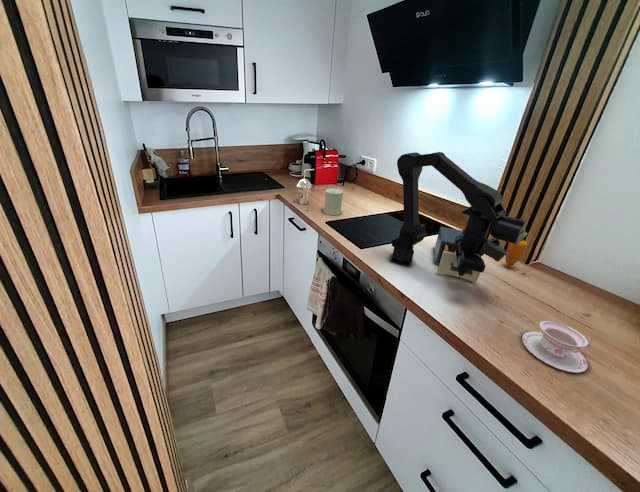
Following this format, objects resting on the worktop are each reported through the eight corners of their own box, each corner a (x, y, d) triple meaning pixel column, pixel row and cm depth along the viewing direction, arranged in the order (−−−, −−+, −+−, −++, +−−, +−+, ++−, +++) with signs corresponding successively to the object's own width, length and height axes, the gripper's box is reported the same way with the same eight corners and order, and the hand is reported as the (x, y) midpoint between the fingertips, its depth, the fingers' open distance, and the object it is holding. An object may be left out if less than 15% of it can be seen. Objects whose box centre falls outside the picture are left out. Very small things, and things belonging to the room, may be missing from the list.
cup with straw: (302, 199, 167) (304, 165, 159) (314, 203, 162) (317, 168, 153) (292, 202, 162) (294, 167, 154) (304, 206, 156) (307, 170, 148)
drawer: (478, 288, 90) (486, 267, 87) (437, 278, 95) (443, 257, 92) (472, 263, 104) (478, 244, 101) (436, 255, 109) (442, 237, 106)
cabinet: (475, 273, 100) (484, 249, 96) (434, 264, 105) (441, 240, 101) (470, 255, 111) (478, 233, 107) (434, 248, 116) (440, 226, 112)
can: (321, 213, 147) (323, 191, 142) (324, 207, 155) (326, 186, 151) (339, 216, 145) (342, 193, 140) (341, 210, 153) (344, 188, 148)
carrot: (510, 271, 101) (525, 234, 95) (496, 264, 106) (511, 228, 100) (520, 270, 103) (536, 232, 97) (506, 262, 107) (521, 226, 101)
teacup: (523, 356, 67) (533, 337, 65) (519, 326, 77) (527, 308, 74) (593, 383, 61) (607, 363, 59) (579, 347, 71) (591, 328, 68)
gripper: (516, 251, 73) (496, 300, 80) (502, 225, 89) (486, 267, 95) (466, 241, 78) (451, 288, 84) (461, 218, 93) (448, 259, 99)
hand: (460, 275), depth 90 cm, fingers closed
